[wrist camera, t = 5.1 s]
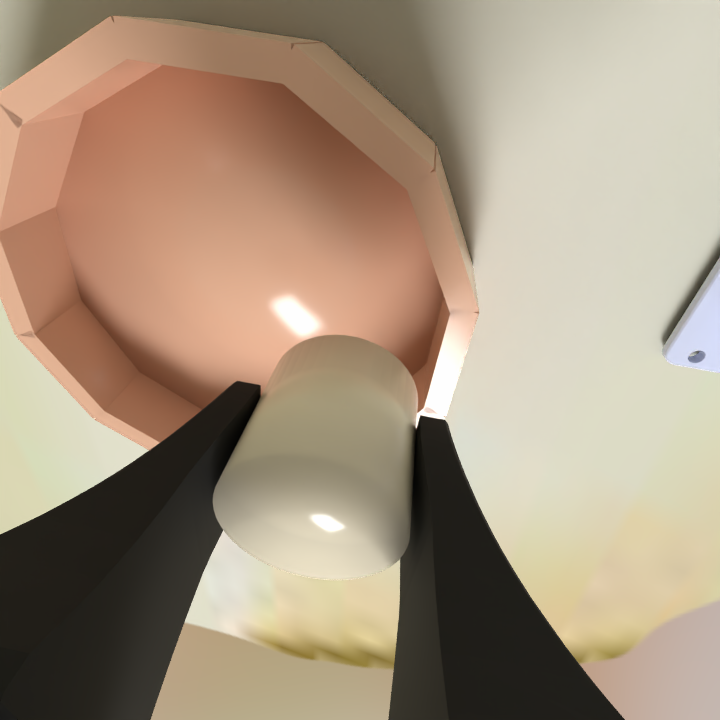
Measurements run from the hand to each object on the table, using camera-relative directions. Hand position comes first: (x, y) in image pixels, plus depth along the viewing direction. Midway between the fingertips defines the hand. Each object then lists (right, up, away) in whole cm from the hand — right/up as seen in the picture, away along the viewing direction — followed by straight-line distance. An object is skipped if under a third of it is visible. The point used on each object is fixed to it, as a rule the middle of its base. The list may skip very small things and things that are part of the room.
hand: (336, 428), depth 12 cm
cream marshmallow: (0, +1, +1) cm, 1 cm away
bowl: (-3, +5, +6) cm, 8 cm away
